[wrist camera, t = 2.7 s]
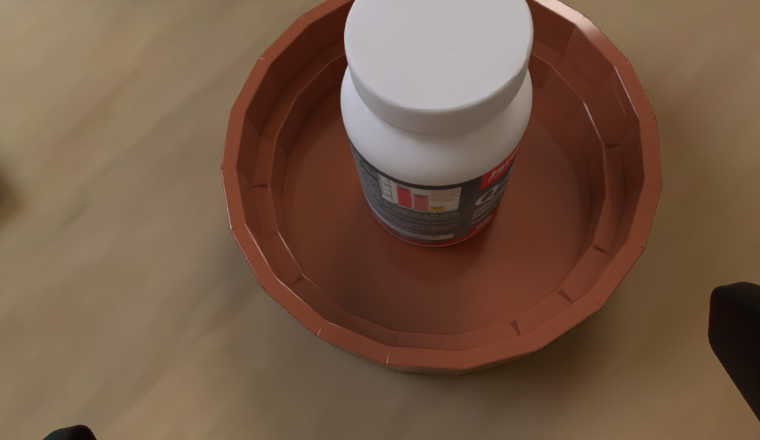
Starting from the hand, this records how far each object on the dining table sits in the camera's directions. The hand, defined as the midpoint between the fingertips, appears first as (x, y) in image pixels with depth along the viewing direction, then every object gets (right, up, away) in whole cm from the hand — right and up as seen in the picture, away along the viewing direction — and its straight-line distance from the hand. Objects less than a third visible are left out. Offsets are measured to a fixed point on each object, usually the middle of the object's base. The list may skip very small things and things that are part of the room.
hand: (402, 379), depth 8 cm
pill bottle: (+2, +4, +15) cm, 16 cm away
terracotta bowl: (+2, +4, +15) cm, 16 cm away
